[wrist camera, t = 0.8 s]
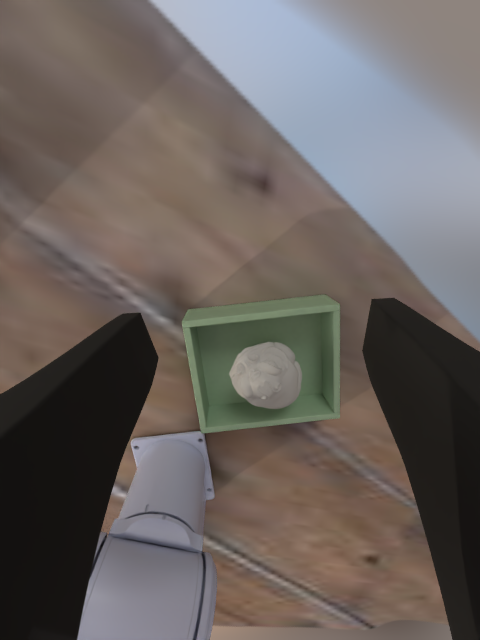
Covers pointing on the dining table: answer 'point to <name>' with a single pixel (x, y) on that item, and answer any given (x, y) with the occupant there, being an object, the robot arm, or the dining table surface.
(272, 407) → the cream rounded lump
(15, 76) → the dining table surface
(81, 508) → the robot arm
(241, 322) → the tote
